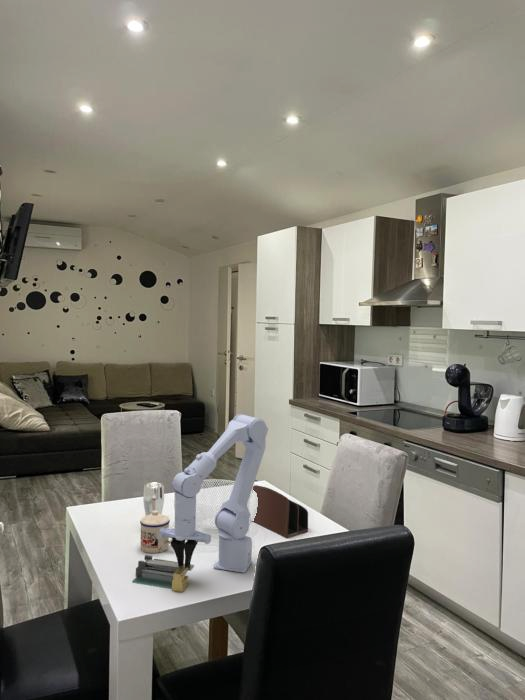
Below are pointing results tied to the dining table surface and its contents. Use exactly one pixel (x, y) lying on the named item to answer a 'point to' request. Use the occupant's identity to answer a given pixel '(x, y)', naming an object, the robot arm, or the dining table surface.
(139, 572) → the grey forked bracket
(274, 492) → the letter holder
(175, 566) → the grey long flat bar
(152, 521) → the teacup with lid
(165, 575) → the block
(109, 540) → the dining table surface
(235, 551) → the robot arm
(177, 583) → the clip
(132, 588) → the dining table surface
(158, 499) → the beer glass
